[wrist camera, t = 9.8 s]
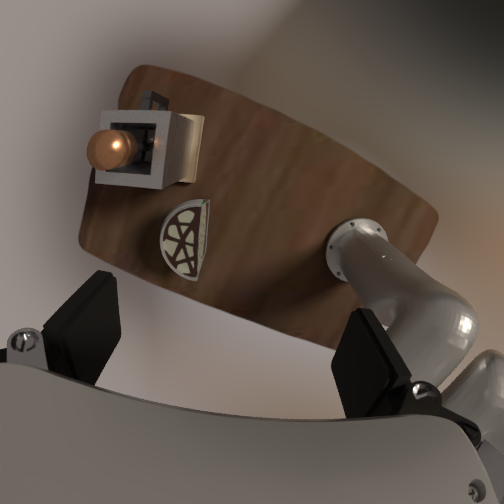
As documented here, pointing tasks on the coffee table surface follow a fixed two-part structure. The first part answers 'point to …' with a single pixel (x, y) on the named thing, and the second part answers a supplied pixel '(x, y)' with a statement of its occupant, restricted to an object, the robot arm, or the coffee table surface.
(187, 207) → the food container
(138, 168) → the press sleeve
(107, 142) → the plunger
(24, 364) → the robot arm
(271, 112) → the coffee table surface
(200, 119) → the base
